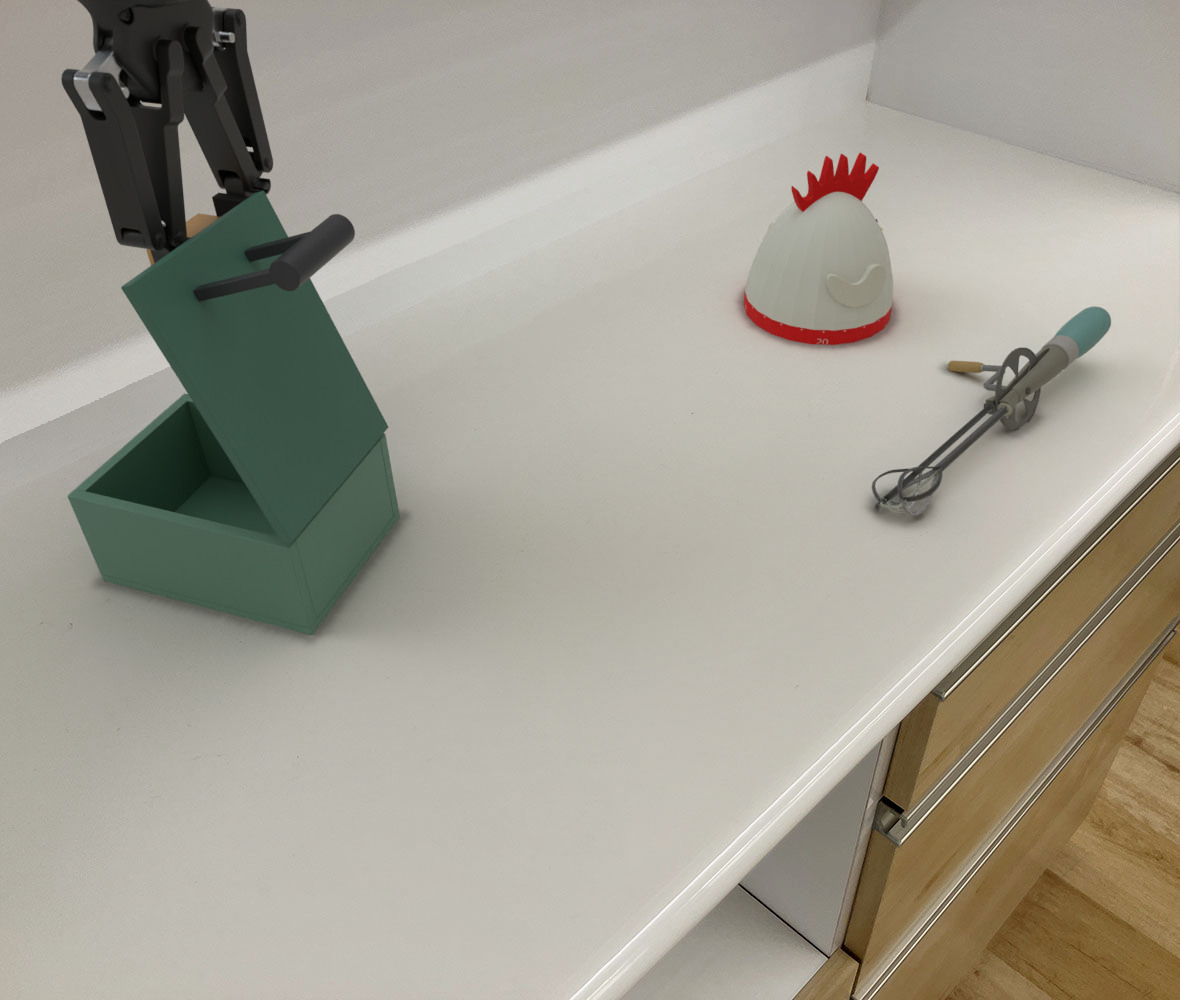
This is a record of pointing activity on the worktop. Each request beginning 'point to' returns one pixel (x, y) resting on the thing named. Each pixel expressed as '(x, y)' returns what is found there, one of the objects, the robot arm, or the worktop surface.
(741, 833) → the worktop surface
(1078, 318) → the whisk
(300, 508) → the lunchbox lid
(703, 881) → the worktop surface
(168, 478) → the lunchbox
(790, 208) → the kitchen timer
